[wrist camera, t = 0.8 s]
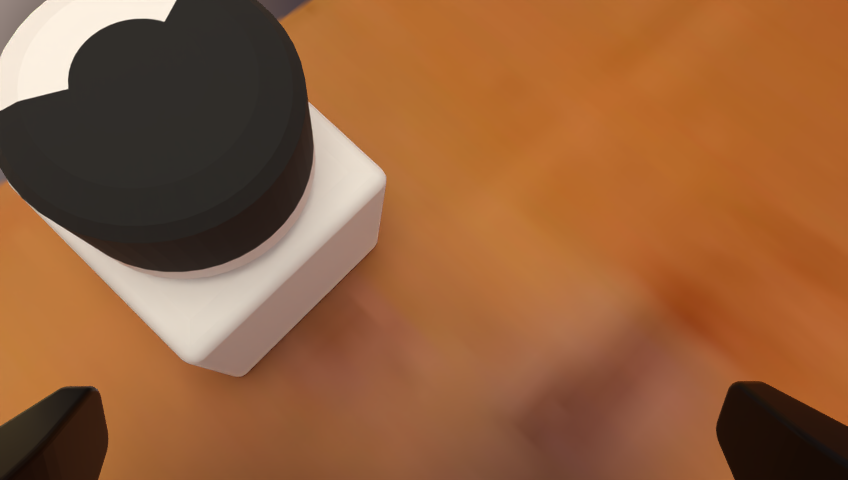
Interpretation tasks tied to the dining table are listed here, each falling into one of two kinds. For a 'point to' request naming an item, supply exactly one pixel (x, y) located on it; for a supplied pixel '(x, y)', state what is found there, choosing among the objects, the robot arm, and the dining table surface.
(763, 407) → the robot arm
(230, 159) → the medicine bottle
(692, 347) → the dining table surface
